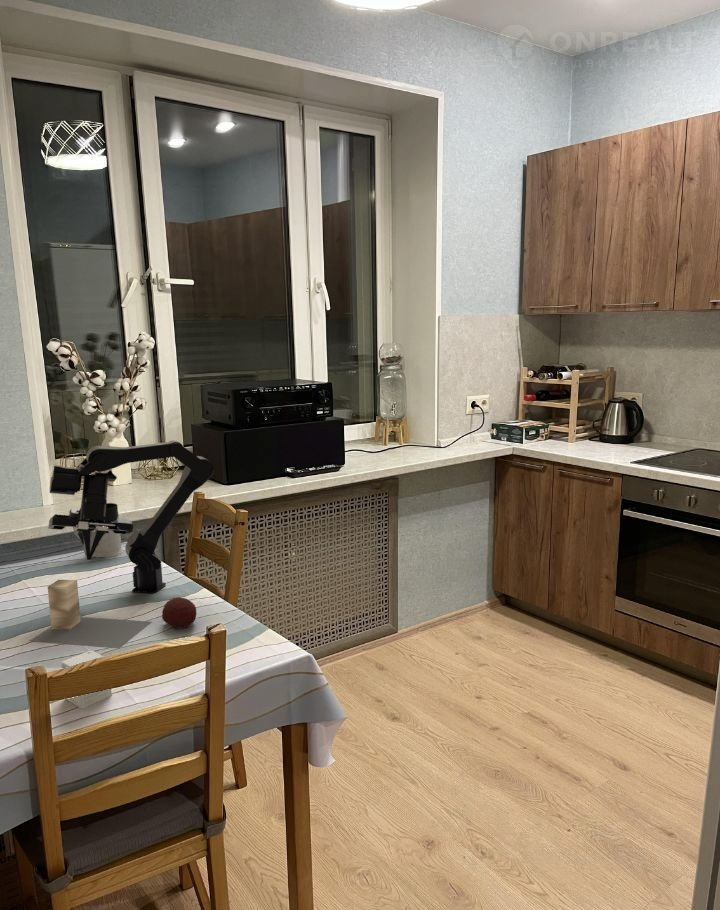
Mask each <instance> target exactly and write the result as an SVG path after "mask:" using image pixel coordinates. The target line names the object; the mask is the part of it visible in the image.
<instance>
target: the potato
mask: <svg viewBox="0 0 720 910" xmlns="http://www.w3.org/2000/svg"><path fill="white" fill-rule="evenodd" d="M196 607H197V606H196V605H195V604H194V603H193V602H192V601H191V600H189V599H188V598H185V597H180V596H179V597H178V596H177V597H173V598H171V599H168V601H166V603H165V604H164V605H163V608H162V613H161V614H162V620H163V621H164V623H165V624H167V625H168V626H171V627H172V628H178V629H180V628H182V629H183V628H188V627H189V626H191V625H192V624H194V622H195V621H196V618H197V608H196Z"/></svg>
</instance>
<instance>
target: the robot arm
mask: <svg viewBox="0 0 720 910" xmlns="http://www.w3.org/2000/svg"><path fill="white" fill-rule="evenodd" d="M167 458H174V459H176V460H177V461H179V462H180V463H181V464H183V465H184V469H182V474H181V475H180V478H179V482H178V483H177V485H176V486H175V487H174V488H173V490H172V491H171V492H170V494H169V495H168V497H167V498H166V499H165V501H164V502H163V503H162V505H161V506H160V507H159V509H158V510H156V511H157V512H156V513H155V514H154V516H153V517H152V518H151V519H150V520H149V522H148V524H147V525H145V527H143V528H142V529H140V530H139V529H138V528H137V527H135V528H134V523H133V521H132V520H131V519H130V520H127V519H119V520H118V519H117V520H116V521H114V522H113V523H112V522H104V521H105V510H106V503H108V502H107V501H108V500H107V497H108V486H109V482H110V483H111V482H113V483H114V482H115V481H116V480H117V479H118V476H117V475H116V474H114V473H113V469H115V468H118V467H120V466H123V465H126V464H130V463H137V462H146V461H152V460H159V459H160V460H161V459H167ZM52 469H53V470H52V475H51V476H50V482H49V494H55V495H57V494H58V495H69V496H75V494H76V493H78V492H80V491H81V487H82V495H81V503H80V508H79V509H75V508H74V509H72V508H70V509H69V513H68V515H66V514H57V513H56V514H54V515H52V517H50V518H49V521H48V526H47V527H48V529H49V530H61V531H62V530H63V529H65V528H66V527H68V528H73V527H74V529H75V531H74V530H73V534H74V535H76V534H77V535H78V536H79V538H80V539H79V538H78V539H79V541H80V543H81V546H82V549H83V553H84V557H85V559H86V561H91V560H92V557H94V556H93V554H94V551H95V549H96V547H97V545H98V543H99V542H100V540H101V538H102V537H103V536H105V535H107V534H108V533H109V531H107V530H112V531H113V532H114V534H120V535H129V534H131V535H130V536H129V537H128V538H126V544H125V546H124V547H125V553H126V555H127V557H128V559H129V561H130V562H131V563H133V564H135V566H134V567H133V572H132V582H133V583H132V584H133V588H132V589H131V591H132V592H133V593H135V592H136V593H149V594H154V593H157V592H159V590H161V589H162V588H163V587H165V586H166V585H167V583H166V582H163V569H162V560H161V558H160V557H159V556H158V554H157V553H156V552H155V551H156V549H157V547H158V543H159V541H160V538H161V536H162V534H163V533H164V531H165V530H166V529H167V528H168V526H169V525H170V523H171V522H172V521H173V519H174V518H175V517H176V516H177V514H178V513H179V511H180V510H181V509H182V507H183V505H184V504H186V502H187V501H188V499H189V498H190V497H191V495H192V494H193V492H195V491H197V490H198V489H200V488H201V487H202V486H203V485H205V483H207V481H209V479H210V478H211V477H212V476H213V475H214V471H215V470H214V465H213V464H212V461H210V460H209V459H207V458H205V457H204V456H201V455H200V456H199V455H195V454H194V453H193V452H191V450H189V449H187V448H186V447H185V446H184V445H183V444H182V443H181V442H179V441H178V440H175V439H174V440H173V439H171V440H169V441H165V442H158V443H156V442H155V443H149V444H147V443H146V444H141V445H132V446H124V447H123V446H113V445H95V446H92V447H90V448H89V450H87V452H86V456H85V458H84V459H83V460H82V461H81V462H80V463H78V465H77V466H76V467H66V466H62V465H57V464H55V465H53V468H52ZM106 471H107V472H106ZM82 480H83V481H82ZM82 482H83V484H82ZM82 485H83V486H82ZM93 531H94V532H93Z"/></svg>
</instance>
